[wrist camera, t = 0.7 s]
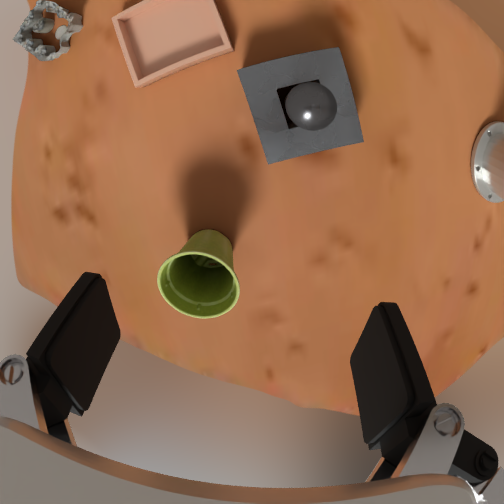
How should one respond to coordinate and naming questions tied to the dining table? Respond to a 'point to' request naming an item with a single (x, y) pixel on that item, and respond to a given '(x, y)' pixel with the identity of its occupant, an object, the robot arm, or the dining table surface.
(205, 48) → the tray
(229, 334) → the dining table surface
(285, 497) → the robot arm
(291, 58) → the socket block
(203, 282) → the plant pot
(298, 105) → the pin
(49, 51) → the egg carton
